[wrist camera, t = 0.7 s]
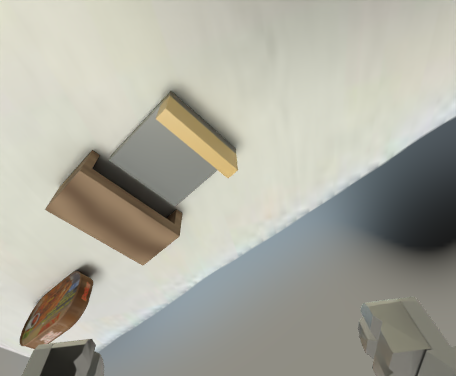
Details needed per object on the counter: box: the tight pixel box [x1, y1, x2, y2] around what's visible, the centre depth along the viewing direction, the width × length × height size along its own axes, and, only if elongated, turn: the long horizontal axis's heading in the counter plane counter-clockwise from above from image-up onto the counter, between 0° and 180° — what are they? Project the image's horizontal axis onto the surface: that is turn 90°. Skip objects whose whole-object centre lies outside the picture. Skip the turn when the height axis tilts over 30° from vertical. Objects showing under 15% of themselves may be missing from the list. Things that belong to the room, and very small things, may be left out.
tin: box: [20, 271, 93, 349], centre depth 51 cm, size 15×3×8 cm, turn 132°
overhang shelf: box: [45, 150, 182, 265], centre depth 42 cm, size 8×14×4 cm, turn 45°
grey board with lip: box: [109, 91, 238, 207], centre depth 38 cm, size 11×10×5 cm
